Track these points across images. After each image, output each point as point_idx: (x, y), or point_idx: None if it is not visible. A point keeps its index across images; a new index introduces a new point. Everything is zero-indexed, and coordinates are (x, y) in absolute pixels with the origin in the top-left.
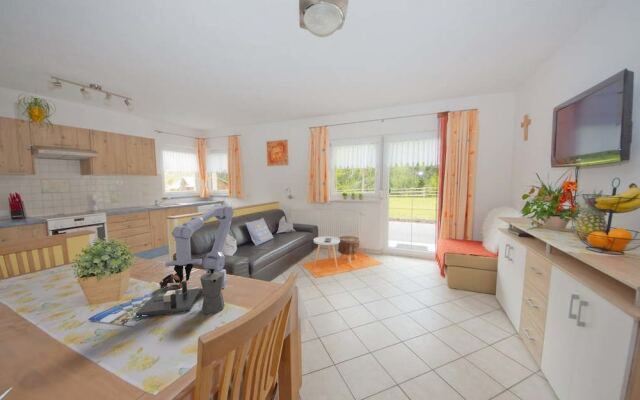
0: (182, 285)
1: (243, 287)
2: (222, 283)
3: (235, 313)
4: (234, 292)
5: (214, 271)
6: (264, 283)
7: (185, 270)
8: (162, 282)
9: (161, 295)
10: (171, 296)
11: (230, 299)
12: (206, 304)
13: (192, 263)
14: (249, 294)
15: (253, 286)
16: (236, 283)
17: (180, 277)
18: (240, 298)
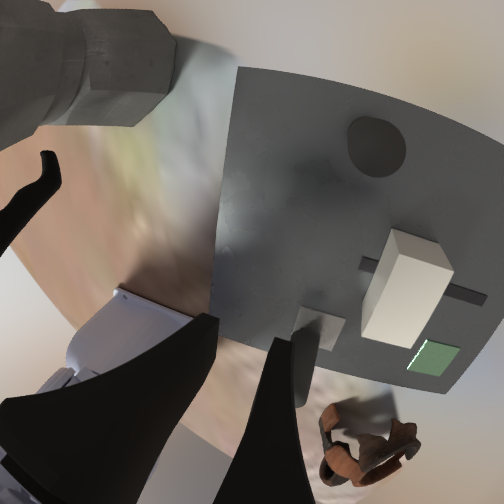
0: (307, 373)
1: (53, 250)
2: None
3: None
4: (68, 218)
5: (89, 377)
6: (13, 243)
7: (104, 433)
8: (402, 454)
9: (436, 352)
10: (391, 123)
11: (69, 148)
12: (112, 10)
13: (5, 470)
14: (26, 171)
15: (30, 238)
16: (86, 305)
17: (269, 380)
18: (42, 144)
